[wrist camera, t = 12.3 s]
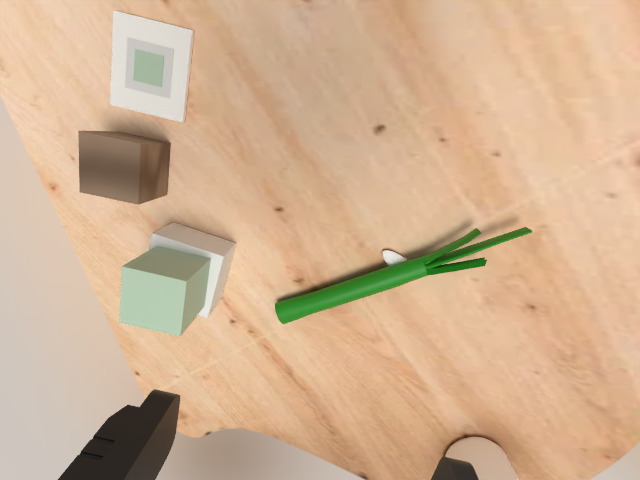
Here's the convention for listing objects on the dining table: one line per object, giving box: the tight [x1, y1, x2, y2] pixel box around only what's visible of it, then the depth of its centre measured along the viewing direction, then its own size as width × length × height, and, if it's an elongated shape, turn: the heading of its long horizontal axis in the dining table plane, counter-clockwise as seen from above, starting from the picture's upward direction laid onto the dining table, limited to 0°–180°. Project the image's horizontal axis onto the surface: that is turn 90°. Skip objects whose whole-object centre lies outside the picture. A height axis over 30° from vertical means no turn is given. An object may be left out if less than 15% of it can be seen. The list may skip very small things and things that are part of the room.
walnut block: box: [79, 131, 171, 204], centre depth 35 cm, size 6×6×6 cm
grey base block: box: [149, 222, 236, 318], centre depth 39 cm, size 8×8×5 cm
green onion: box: [275, 227, 532, 324], centre depth 39 cm, size 5×3×30 cm
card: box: [110, 10, 194, 123], centre depth 34 cm, size 9×8×1 cm
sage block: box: [119, 246, 211, 336], centre depth 34 cm, size 6×6×6 cm
